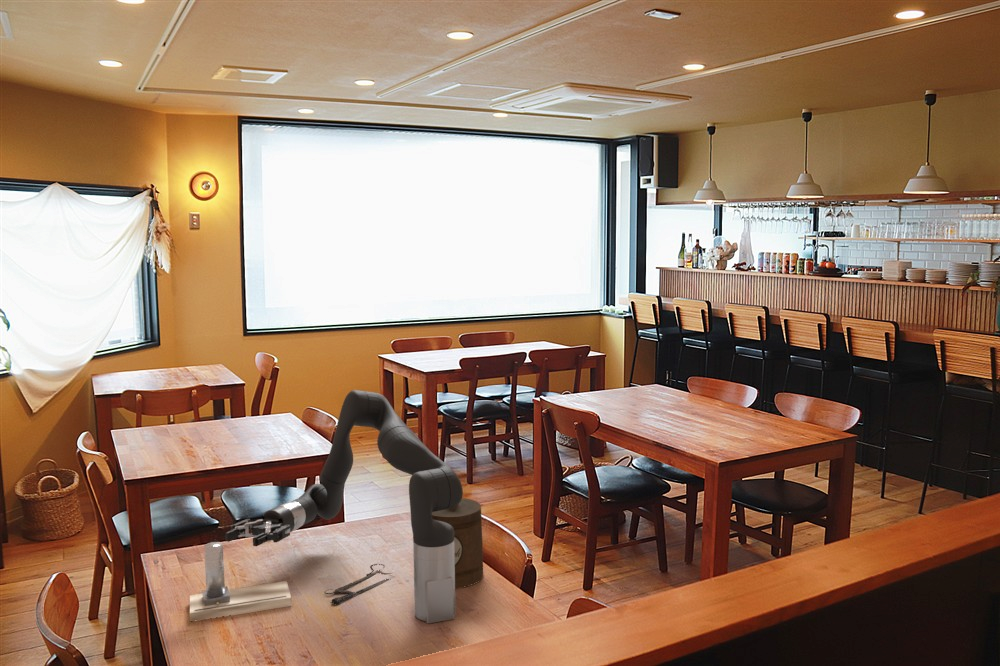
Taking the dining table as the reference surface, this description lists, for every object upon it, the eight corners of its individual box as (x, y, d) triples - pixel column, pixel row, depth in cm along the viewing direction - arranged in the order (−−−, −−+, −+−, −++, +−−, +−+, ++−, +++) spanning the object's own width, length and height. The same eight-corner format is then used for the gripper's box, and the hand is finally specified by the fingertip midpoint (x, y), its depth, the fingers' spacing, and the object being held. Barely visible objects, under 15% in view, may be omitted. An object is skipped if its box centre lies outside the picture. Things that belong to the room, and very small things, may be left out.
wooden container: (411, 577, 208) (409, 492, 205) (454, 560, 218) (452, 479, 216) (453, 594, 198) (451, 505, 195) (495, 575, 208) (494, 490, 206)
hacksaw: (335, 607, 192) (334, 601, 192) (305, 596, 198) (305, 590, 198) (406, 573, 211) (406, 567, 211) (377, 564, 217) (377, 558, 217)
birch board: (291, 605, 192) (291, 597, 192) (190, 621, 185) (189, 613, 184) (286, 588, 202) (286, 580, 201) (190, 603, 194) (189, 595, 194)
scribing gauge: (230, 603, 189) (227, 549, 187) (205, 608, 187) (202, 553, 185) (227, 592, 195) (224, 539, 194) (202, 596, 193) (199, 542, 191)
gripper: (261, 502, 216) (216, 521, 201) (305, 508, 210) (262, 528, 196) (262, 530, 217) (218, 551, 202) (307, 537, 211) (264, 559, 196)
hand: (240, 540), depth 199 cm, fingers open, 8 cm apart
